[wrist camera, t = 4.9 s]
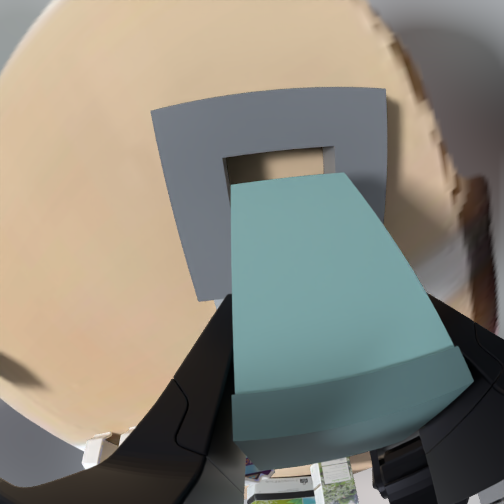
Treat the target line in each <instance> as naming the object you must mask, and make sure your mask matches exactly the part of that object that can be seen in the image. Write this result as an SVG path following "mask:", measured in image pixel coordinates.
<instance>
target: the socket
mask: <svg viewBox="0 0 504 504" xmlns="http://www.w3.org/2000/svg"><path fill="white" fill-rule="evenodd" d="M151 116H152V121H153V126H154V131H155V136H156V141H157V146H158V150H159V155H160V159H161V164H162V168H163V173H164V177H165V181H166V185H167V190H168V194H169V198H170V202H171V206H172V210H173V214H174V218H175V221H176V225H177V229H178V233H179V236H180V240H181V244H182V247H183V251H184V254H185V258H186V261H187V265H188V268H189V272H190V275H191V279H192V282H193V285H194V288H195V292H196V295H197V298H198V301H199V302H200V301H209V300H218V299H224V298H225V297H226V295H227V294H231V293H232V268H231V188H230V182H229V176H228V170H227V163H226V157H232V156H239V155H246V154H254V153H262V152H270V151H279V150H289V149H300V148H312V147H323V164H324V174H330V173H343V172H344V173H345V174H346V175H347V177H348V178H349V179H350V180H351V182H352V183H353V184H354V186H355V187H356V188H357V189H358V191H359V192H360V193H361V195H362V196H363V197H364V199H365V200H366V201H367V203H368V204H369V206H370V207H371V208H372V210H373V211H374V212H375V214H376V215H377V217H378V218H379V219H380V221H381V222H382V224H383V223H384V211H385V197H386V178H387V104H386V89H382V88H364V87H312V88H292V89H278V90H266V91H257V92H248V93H240V94H233V95H226V96H220V97H213V98H208V99H202V100H197V101H192V102H187V103H182V104H177V105H173V106H168V107H164V108H160V109H156V110H152V111H151Z"/></svg>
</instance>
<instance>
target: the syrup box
mask: <svg viewBox="0 0 504 504" xmlns="http://www.w3.org/2000/svg"><path fill="white" fill-rule="evenodd" d="M310 471H311V476H312V481H313V487H314V494H315V501H316V504H359V501H358V496H357V491H356V487H355V482H354V478H353V473H352V468H351V464H350V459H349V457H345V458H340V459H336V460H331V461H326V462H321V463H315V464H312V465H311V467H310Z"/></svg>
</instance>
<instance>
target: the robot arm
mask: <svg viewBox="0 0 504 504" xmlns="http://www.w3.org/2000/svg"><path fill="white" fill-rule="evenodd" d="M427 295H428V297H429V299H430V300H431V302H432V304H433V306H434V308H435V310H436V311H437V313H438V315H439V317H440V319H441V321H442V323H443V325H444V327H445V329H446V331H447V333H448V335H449V337H450V339H451V341H452V343H453V345H454V347H456V346H458V347H459V349H460V351H461V353H462V355H463V357H464V360H465V362H466V364H467V366H468V369H469V371H470V373H471V375H472V378H473V380H474V382H473V383H472V384H471V385H470V386H469V387H468V388H467V389H465V390H464V391H463V392H462V393H461V394H460V395H459V396H458V397H457V398H456V399H455V400H454V401H452V402H451V403H450V404H449V405H448V406H447V407H446V408H444V409H443V410H442V411H441V412H440V413H438V414H437V415H436V416H435V417H434V418H432V419H431V420H430V421H429V422H427V423H426V424H425V425H423V426H422V427H421V428H420V429H418V430H417V431H416V432H414V433H413V434H411V435H410V436H409V437H407V438H406V439H404V440H403V441H400V442H397V443H395V444H391V445H388V446H385V447H382V448H379V449H375V450H372V451H369V452H370V455H371V460H372V476H373V488H375V489H377V490H379V492H380V494H381V496H382V497H383V498H384V499H386V498H388V499H389V502H390V504H467V503H468V500H469V497H471V496H473V495H475V494H477V493H478V496H479V499H480V503H481V504H504V339H502V338H500V337H498V336H497V335H495V334H493V333H492V332H490V331H489V330H487V329H485V328H484V327H482V326H480V325H479V324H477V323H476V322H475V323H474V321H472V320H471V319H469V318H468V317H466V316H464V315H463V314H461V313H460V312H458V311H456V310H455V309H453V308H451V307H450V306H448V305H447V304H445V303H443V302H442V301H440V300H438V299H437V298H435V297H433V296H431V295H430V294H428V293H427ZM173 378H174V379H171V381H170V382H169V384H168V385H167V387H166V389H165V390H164V391H163V393H162V394H161V396H160V397H159V399H158V400H157V401H156V403H155V404H154V405H153V407H152V408H151V409H150V410H149V412H148V413H147V414H146V415H145V417H144V418H143V419H142V420H141V421H140V423H139V424H138V425H137V426H136V427H135V428H134V430H133V431H132V432H131V433H130V434H129V435H128V437H127V438H126V439H125V440H124V441H123V442H122V444H121V445H120V446H119V447H118V448H117V449H116V450H115V451H114V452H113V453H112V454H111V455H110V456H109V457H108V458H107V459H105V460H104V461H103V462H101V463H99V464H98V465H95V466H93V467H91V468H88V469H85V470H83V471H80V472H78V473H75V474H72V475H69V476H66V477H63V478H61V479H57V480H54V481H52V482H48V483H45V484H42V485H38V486H33V487H17V486H14V485H12V484H11V483H9V482H7V481H5V480H4V479H2V478H0V504H244V495H243V494H244V486H245V466H246V455H245V454H244V453H243V452H242V451H241V450H240V448H239V447H238V446H237V445H236V444H235V443H234V441H233V422H232V395H235V379H234V350H233V315H232V293H231V294H227V295H226V297H225V298H224V300H223V301H222V303H221V304H220V306H219V307H218V309H217V310H216V312H215V314H214V315H213V317H212V318H211V320H210V321H209V323H208V324H207V326H206V327H205V329H204V330H203V332H202V334H201V335H200V337H199V338H198V340H197V341H196V343H195V344H194V346H193V347H192V349H191V350H190V352H189V354H188V355H187V357H186V358H185V360H184V361H183V363H182V364H181V366H180V367H179V369H178V370H177V372H176V373H175V375H174V377H173Z"/></svg>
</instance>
